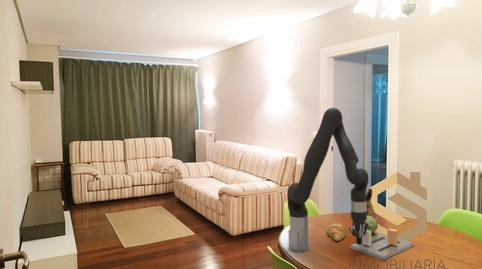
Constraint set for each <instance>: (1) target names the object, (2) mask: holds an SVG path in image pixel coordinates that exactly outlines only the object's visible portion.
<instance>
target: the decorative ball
mask: <svg viewBox="0 0 482 269" xmlns="http://www.w3.org/2000/svg"><path fill="white" fill-rule="evenodd" d="M365 222H366V223H368V224H369V225H368V228H367V230H370V231H371V235H372V234H374V233H375V232H376V231H377V229H378V222H377V220H376V218H375V219H374V218H373V217H371V216H367V220H365Z"/></svg>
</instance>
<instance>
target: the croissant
mask: <svg viewBox="0 0 482 269" xmlns="http://www.w3.org/2000/svg"><path fill="white" fill-rule="evenodd" d="M326 233H327V235H328V236H329V237H330V238H331V239H333V240H334V241H336V242H339V241H341V240H343V239H344V238H345V237H346V230H345V227H344V226H343V225H342V224H341V223H339V222H334V223H331V224H329V225H328V226H327V227H326Z"/></svg>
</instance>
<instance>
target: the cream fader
mask: <svg viewBox="0 0 482 269" xmlns="http://www.w3.org/2000/svg"><path fill="white" fill-rule="evenodd" d="M371 237H372V234H371V231H370V230H366V233H365V235H363V237H362V244H365V245H368V246H369V245H371Z"/></svg>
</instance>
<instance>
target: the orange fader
mask: <svg viewBox="0 0 482 269" xmlns="http://www.w3.org/2000/svg"><path fill="white" fill-rule="evenodd" d="M398 231H399V230H396V229H395V228H394V229H393V228H388V229H387V234H386V235H387V237H388V243H389V244H392V245H397V244H398V238H399V236H398V235H399V234H398V233H399V232H398Z"/></svg>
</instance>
